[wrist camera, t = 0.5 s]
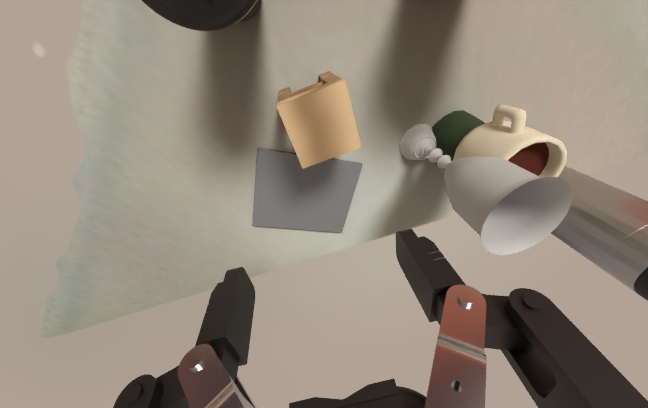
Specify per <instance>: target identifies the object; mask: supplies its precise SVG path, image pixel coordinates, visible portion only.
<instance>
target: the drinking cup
mask: <svg viewBox="0 0 648 408" xmlns="http://www.w3.org/2000/svg"><path fill="white" fill-rule="evenodd" d="M142 1H143V2H144V3H145V4H146V5H147V6H148V7H150V8H151V9H152V10H154V11H155V12H156V13H158V14H159V15H161V16H162V17H164V18H165V19H167V20H169V21H171V22H173V23H175V24H177V25H180V26H182V27H185V28H189V29H193V30H199V31H216V30H221V29H225V28H227V27H230V26H232V25H234V24H236V23H237V22H239V21H244V20H247V19H250V18H251V17H252V16H254V15H255V13H256V12H257V10H258V9H259V6H260V3H261V0H142Z"/></svg>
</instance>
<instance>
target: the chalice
mask: <svg viewBox="0 0 648 408" xmlns="http://www.w3.org/2000/svg"><path fill="white" fill-rule="evenodd" d="M432 130H433V129H432V128H431V126H429V125H427V124H417V125H414V126H412V127H411V128H409V129H408V130H407V131H406V132H405V133H404V135H403V136H402V138H401V141H400V152H401V154H402V155H403V156H404V157H405V158H406V159H409V160H424V159H427V158H428V157H429V161H430V162H432V163H435V162H437V165H438V167H439V168H445V171H444V179H445V185H446V191H447V194H448V197H449V199H450V202H451V204H452V207H453V209H454V210H455V211H456V212H457V213H458V214H459V215H460V216H461V217H462V218H463V219H464V220H465V221H466V222H467V223H468V224H469V225H470V226H471V227H472V228H473V229H474V230H475V231H476V232H477V233H478V234H479V235H480V238H481V242H482V246H483V247H484V248H485V250H486V251H487V252H488V253H492V254H494V255H497V256H498V255H511V254H515V253H518V252H522V251H524V250H526V249H528V248H530V247H532V246H534V245H536V244H537V243H538V242H540V241H541V240H543V239H544V238H546V237H547V236H548V235H549V234H550V233H551V232H552V231H553V230H554V229H555V228H556V227H557V226H558V225H559V224H560V223H561V221H562V220H563V218H564V217H565V216H566V214H567V212H568V210H569V207H570V205H571V203H572V192H573V191H572V189H571V187H570V185H569V183H568V182H567V181H565V180H563V179H562V178H560V177H539V176H537V175H535V174H533V173H531V172H529V171H527V170H525V169H523V168H521V167H519V166H517V165H515V164H513V163H511V162H509V161H507V160H505V159H503V158H500V157H485V156H472V157H463V158H457V159H455V160H453V161H451V158H450V156H449V155H443V152H442V150H441V149H439V148H437V149H436V145H437V143H436V138H435V136H434V134H433V131H432Z"/></svg>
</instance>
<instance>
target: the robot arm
mask: <svg viewBox="0 0 648 408" xmlns="http://www.w3.org/2000/svg"><path fill="white" fill-rule="evenodd" d="M559 177H560V178H562V179H563V180H565V181H567V182H568V183H569V185H570V187H571V189H572V191H573V192H572V203H571V205H570V207H569V210H568V212H567V214H566V216H565V217H564V218H563V220H562V221H561V223H560V224H559V225H558V226H557V227H556V228H555V229H554V230H553V231H552V232H551V234H553V235H554V236H556V237H557V238H558V239H560V240H561V241H563V242H564V243H566V244H567V245H569V246H570V247H571V248H573V249H574V250H576V251H577V252H579V253H580V254H581V255H583V256H584V257H586V258H587V259H589V260H590V261H591V262H593V263H594V264H596V265H597V266H599V267H600V268H602V269H603V270H604V271H606V272H607V273H609V274H610V275H612V276H613V277H615V278H616V279H617V280H619V281H620V282H622V283H623V284H625V285H626V286H627V287H629V288H630V289H632V290H633V291H635V292H636V293H638V294H639V295H640V296H642V297H643V298H645V299H646V300H648V201H646V200H643V199H641V198H639V197H636V196H634V195H632V194H629V193H627V192H625V191H622V190H620V189H618V188H615V187H613V186H611V185H608V184H606V183H603V182H601V181H599V180H596V179H594V178H592V177H590V176H587V175H585V174H583V173H580V172H578V171H576V170H573V169H571V168H569V167H566V166H564V169H563V171H562V172H561V174H560V175H559ZM396 254H397V259H398V262H399V264H400V266H401V268H402V270H403V272H404V274H405V276H406V278H407V280H408V282H409V283H410V285H411V287H412V289H413V291H414V293H415V295H416V297H417V299H418V300H419V302H420V304H421V306H422V308H423V310H424V312H425V314H426V316H427V318H428V320H429V322H433V321H438V323H439V324H440V330H439V336H438V339H437V344H436V350H435V355H434V360H433V366H432V371H431V376H430V382H429V387H428V392H427V397H425V396H424V395H422V394H420V393H418V392H416V391H414V390H411V389H409V388H405V387H399V386H396V383H395V380H394V379H391V380H386V381H382V382H378V383H374V384H370V385H367V386H365V387H364V388H362V389H360V390H359V391H357V392H355V393H354V394H352V395H350V396H349V397H347V398H345V399H342V400H339V399H328V398H317V397H315V398H310V399H306V400H302V401H297V402H293V403H290V404H289V408H485V388H486V355H485V354H484V348H493V349H501V351H502V352H503V354H504V355H505V357H506V358H507V360H508V361H509V363H510V365H511V366H512V368H513V369H514V371H515V372H516V374H517V375H518V377H519V378H520V380H521V381H522V383H523V385H524V386H525V388H526V389H527V391H528V392H529V394H530V395H531V397H532V399H533V400H534V402H535V403H536V405H537V406H538V408H648V401H647V400H646V399H645V398H644V397H643V396H642V395H641V394H640V393H639V392H638V391H637V390H636V389H635V388H634V387H633V386H632V385H631V383H630V382H629V381H628V380H627V379H626V378H625V377H624V376H623V375H622V374H621V373H620V372H619V371H618V370H617V369H616V368H615V367H614V366H613V365H612V364H611V363H610V362H609V361H608V360H607V359H606V358H605V356H603V355H602V353H601V352H600V351H599V350H598V349H597V348H596V347H595V346H594V345H593V344H592V343H591V342H590V341H589V340H588V339H587V338H586V337H585V336H584V335H583V334H582V333H581V332H580V331H579V329H578V328H577V327H576V326H575V325H574V324H573V323H572V322H571V321H570V320H569V319H568V318H567V317H566V316H565V315H564V314H563V313H562V312H561V311H560V310H559V309H558V308H557V307H556V306H555V305H554V304H553V303H552V302H551V301H550V300H549V299H548V298H547V297H546V296H544V295H543V294H541V293H539V292H537V291H534V290H531V289H525V288H520V289H515V290H513V291H512V292H511V293H510V295H509V296H495V295H485V294H481V293H480V292H479V291H477V290H476V289H474V288H472V287H470V286H467V285H466V284H465V283H464V282H463V281H462V279H461V278H460V277H459V276H458V274H457V273H456V272H455V270H454V269H453V268H452V267H451V265H450V264H449V262H448V261H447V260H446V259H445V258H444V256H443V254H442V253H441V252H440V251H439V249H438V248H437V246H436V245H435V244H434V243H433V242H432V241H431V240H429V239H427V238H426V237H419V238H418V237H417V236H416V234H415V233H414V232H413V230H412V229H407V230H403V231H399V232H396ZM254 302H255V290H254V286H253V284H252V282H251V280H250V278H249V277H248V275H247V273H246V271H245V269H244V268H243V267H240V268H236V269H231V270H228V271H227V272H226V274H225V278H224V281H223V282H221V283H218V284H217V286H216V287H215V289H214V290H213V292H212V293H211V297H210V300H209V305H208V306H207V310H206V313H205V316H204V320H203V323H202V326H201V330H200V333H199V336H198V339H197V342H196V346H195V347H194V348H193V349H191V350H190V351H189V352H188V353H187V354H186V355H185V356H184V357H183V359H182V360H181V362H180V365H179V366H177V367H176V368H174V369H172V370H170V371H168V372H167V373H165V374H163V375H161V376H160V377H158V378H154V377H153V376H152V375H142V376H140V377H138V378H136V379H135V380H133V381H132V382H130V383H129V384H128V385H127V386H126V387H125V389H124V390H123V391H122V392H121V394H120V395H119V397H118V398H117V400H116V402H115V405H114V407H113V408H257V407H256V406H255V404H254V403H253V401H252V399H251V398H250V396H249V394H248V393H247V391H246V390H245V388H244V386H243V385H242V383H241V381H240V380H239V378H238V376H237V370H238V366H241V365H245V364H247V358H248V350H249V342H250V334H251V326H252V318H253V310H254Z"/></svg>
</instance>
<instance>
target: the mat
mask: <svg viewBox="0 0 648 408" xmlns="http://www.w3.org/2000/svg"><path fill="white" fill-rule="evenodd" d="M361 168H362V163H357V162H350V161H343V160H336V159H328V160H326V161H323V162H320V163H317V164H315V165H312V166H309V167H306V168H304V169H303V168H302V166H301V164H300V161H299V159H298V157H297V154H295V153H289V152H282V151H275V150H268V149H261V148H258V149H257V165H256V180H255V195H254V211H253V226H263V227H276V228H289V229H301V230H314V231H327V232H339V233H342V230H343V227H344V224H345V220H346V217H347V214H348V210H349V207H350V204H351V201H352V197H353V194H354V191H355V187H356V184H357V181H358V178H359V174H360V171H361Z"/></svg>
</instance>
